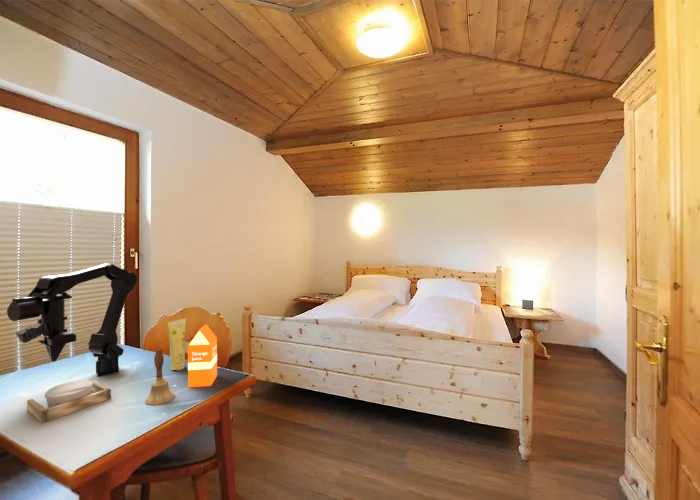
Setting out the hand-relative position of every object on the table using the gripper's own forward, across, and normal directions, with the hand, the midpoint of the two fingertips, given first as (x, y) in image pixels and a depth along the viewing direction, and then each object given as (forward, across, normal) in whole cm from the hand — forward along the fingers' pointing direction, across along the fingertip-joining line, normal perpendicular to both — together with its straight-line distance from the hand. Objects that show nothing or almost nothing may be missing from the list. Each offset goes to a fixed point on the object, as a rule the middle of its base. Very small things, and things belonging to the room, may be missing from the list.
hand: (53, 361), depth 105 cm
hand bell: (+11, +34, +16) cm, 39 cm away
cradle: (+11, +13, 0) cm, 17 cm away
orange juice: (+11, +34, +31) cm, 47 cm away
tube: (+11, +15, +33) cm, 38 cm away
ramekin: (+11, +13, 0) cm, 17 cm away
